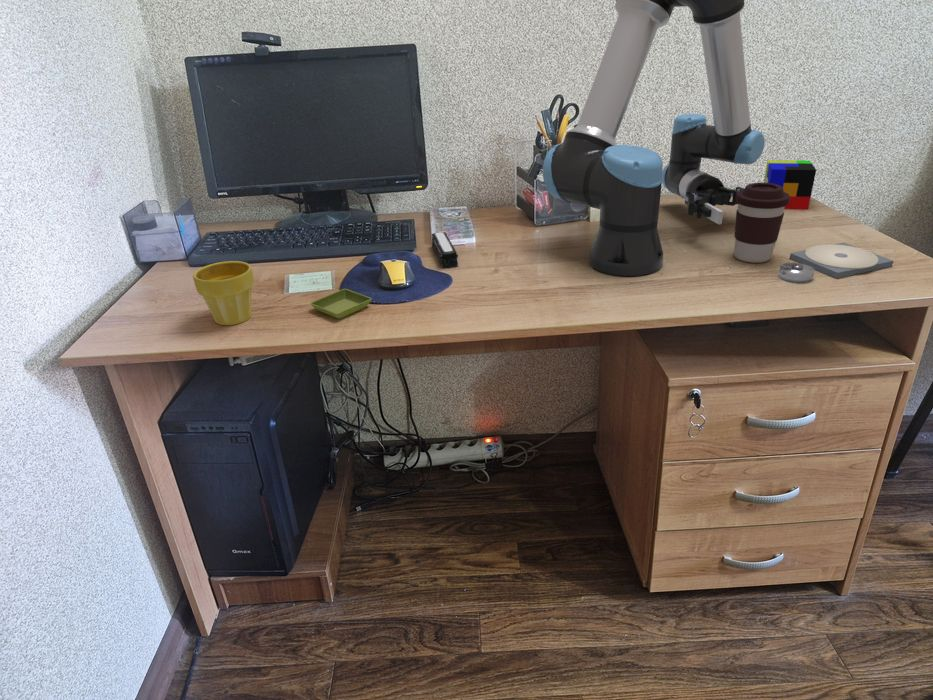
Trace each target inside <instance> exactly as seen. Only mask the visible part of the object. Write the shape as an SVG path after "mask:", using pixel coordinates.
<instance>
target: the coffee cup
mask: <svg viewBox="0 0 933 700" xmlns="http://www.w3.org/2000/svg"><path fill="white" fill-rule="evenodd" d="M789 200H790V195H789V194H788V193H786V192H784V190H783V187H782V186H780V185H777V184H773V183H764V182H751V183H749V184H746V186H745V188H744V190H741V191H739V192H737V194H736V202H737V203H738V204H737V209H736V213H735V225H734V253H733V254H734V258H736V259H737V260H739V261H742V262H745V263H746V262H747V263H750V264H751V263H755V264H758V263H761V264H762V263H766V262H768V261H770V260H771V258H772V256H773V251H774V250H775V249H774V248H775V244H776V242H777V241H778V238H779V234H780V231H781V228H782V227H781V226H782V224H783V223H782V222H783V220H784V214H785V213H784V210H785V209H784V208H785V206H787V205H788V204H789Z"/></svg>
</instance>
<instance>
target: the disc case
mask: <svg viewBox="0 0 933 700" xmlns="http://www.w3.org/2000/svg"><path fill="white" fill-rule="evenodd" d="M789 260H791V261H794V262H795V263H800V264H805V265H808V266H811V267H812V268H814V271H817V272H820V273H822V274H824V275H827V276H829V277H832V278H834V279H840V278H846V277H850V276H853V275H859V274H863V273H868V272H872V271H873V272H874V271H877V270H882V269H886V268H890V267H893V264H894V260H893V259H890V258H888V257H885V256H882V255H879V254H876V253H873V252H871V251H869V250H866V249H864V248H859V247H857V246H854V245H852V244H849V243H846V242H840V243H835V244H831V243H830V244H818V245H814V246H810V247H808V248H807V249H805V250H799V251H795V252H790V255H789Z"/></svg>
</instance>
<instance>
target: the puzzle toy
mask: <svg viewBox="0 0 933 700" xmlns="http://www.w3.org/2000/svg"><path fill="white" fill-rule="evenodd" d="M816 174H817V169H816V168H815V166H814V165H813V163H812V162H811V160H802V159H801V160H800V159H798V160H792V159H791V160H790V159H789V160H788V159H787V160H780V159H779V160H778V159H770V160H769V159H767V162H766V167H765V171H764V178H763V179H764V180H763V183H773V184H777V185H780V186H782V187H783V190H784V192H786V193H788V194H789V195H790V200H789V204H788V205H787V206H785V208H784V210H801V211H802V210H804V211H805V210H809V206H810V203H811V198H812V197H811V196H812V193H813V188H814V182H815V178H816Z"/></svg>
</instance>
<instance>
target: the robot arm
mask: <svg viewBox="0 0 933 700" xmlns="http://www.w3.org/2000/svg"><path fill="white" fill-rule="evenodd" d="M678 7H681V8H682V7H688V8H689V9H690V11H691V13H692V20H693V23H694V24H696V25H698V26H699V30H700V37H701V43H702V49H703V50H702V51H703V57H704V65H705V72H706V78H707V83H708V91H709V92H708V93H709V96H710V97H709V98H710V104H711V112H712V117H713V118H712V119H713V124H714V125H709V124H707V117H706V115H704V114H701V113H683V114H679V115H677V116H676V117H675V118H674V119H673V126H672V131H671V132H672V133H671V142H670V143H671V144H670V153H669V155H670V156H669V161H668V164H666V166H664V167H663V165H664V164H663V160H662V157H661V156H660V154H658V152H656V151H655V150H652V149H649V148H647V147H645V146H644V147H643V146H639V145H628V144H617V142H616V140H615V139H616V138H617V134H618V132H619V130H620V126H621V125H622V122H623V120H624V119H623V118H624V116H625V113H626V111H627V109H628V106H629V104H630V101H631V99H632V97H633V93H634V91H635V88H636V86H637V83H638V80H639V78H640V75H641V73H642V70H643V68H644V65H645V63H646V60H647V57H648V54H649V53H650V52H649V51H650V49H651V46H652V44H653V41H654V39H655V36H656V34H657V32H658V30H659V29H660V28H662V27H665V26H666V25H668V23H669V21H670V18H671V16H672V14H673V12H674V11H673V10H674V9H675V8H678ZM614 8H615V10H616V13H617V14H618V16H617V19H616V21H615V24H614V27H613V29H612V32H611V35H610V37H609V40H608V42H607V45H606V48H605V51H604V54H603V55H602V59H601V61H600V63H599V66H598V69H597V71H596V75H595V77H594V80H593V83H592V85H591V87H590V90H589V93H588V95H587V98H586V101H585V102H584V103H585V104H584V106H583V108H582V111H581V114H580V117H579V120H578V122H577V125H576V126H575V127H573V128H571V129H569V130H567V132H566V134H565V136H564V139H563V142H561V143H558V144H555V145H553V147H551V148H550V149H549V150H548V151H547V153H546V155H545V158H544V160H543V165H542V179H543V181H544V186H545V189H546V191H547V192H548V193H549V194H550V195H551V196H552V197H553V198H555V199H558V200H561V201H564V202H565V203H567V204H568V203H570V204H571V203H572V204H573V203H574V204H577V205H579V206H580V205H581V206H584V207H588V208H593V209H595V210H596V209H597V210H600V211H599V228H598V231H597V233H596V235H595V238H594V241H593V244H592V246H591V249H590V251H589V265H590V267H592V268H593V269H595V270H596V271H598V272H600V273H603V274H608V275H611V276H612V275H613V276H618V277H619V276H620V277H621V276H622V277H625V276H626V277H634V276H637V277H638V276H644V275H649V274H653V273H655V272H657V271H659V270H660V269H662V267H663V264H664V251H663V247H662V243H661V238H660V235H659V232H658V231H659V230H658V223H659V215H660V214H659V213H660V203H661V194H662V193H661V192H662V186H663V187H664V188H665V189H667V190H668V191H669V192H670V193H672V194H674V195H677V196H679V197H681V198H682V199H683V200H684V204H685V205H687V207H686V208H687V210H686V211H687V215H688V216H693V215H694V214H696V217H695V218H696V219H703V217H705V218H707V219H709V220H710V221H712V222H713V223H716V224H717V225H722V224H723V223H722V222H723V217H724V210H721V209H720V208H718V207H716V206H724V205H725V206H732V207H734V206H736V205H738V203H737V202H736V194H737V192H739V191H741V190H744V189H745V188H743V187H740V186H736V187H735V189H732V188H727V187H725V186H724V184H723V182H722V180H720V179H719V178H717V177H716V176H713V175H711V174H709V173H707V172H705V171H702V170H700V169H701V163H702V159H708V160H715V161H718V162H719V161H720V162H726V163H732V164H735V165H737V164H739V165H752V164H754V163H756V162H757V161H758V160H759V159H760V157H761V156H762V154H763V151H764V147H765V143H766V140H765V139H766V138H765V136H764V134H763V132H762V131H760V130H756V129H752V124H751V116H750V115H751V114H750V106H749V95H748V94H749V93H748V85H747V75H746V63H745V54H744V42H743V32H742V23H741V22H742V21H741V15H740V14H741V12H742V11H743V10H744V8H745V0H615V5H614ZM731 198H732V199H731Z"/></svg>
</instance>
